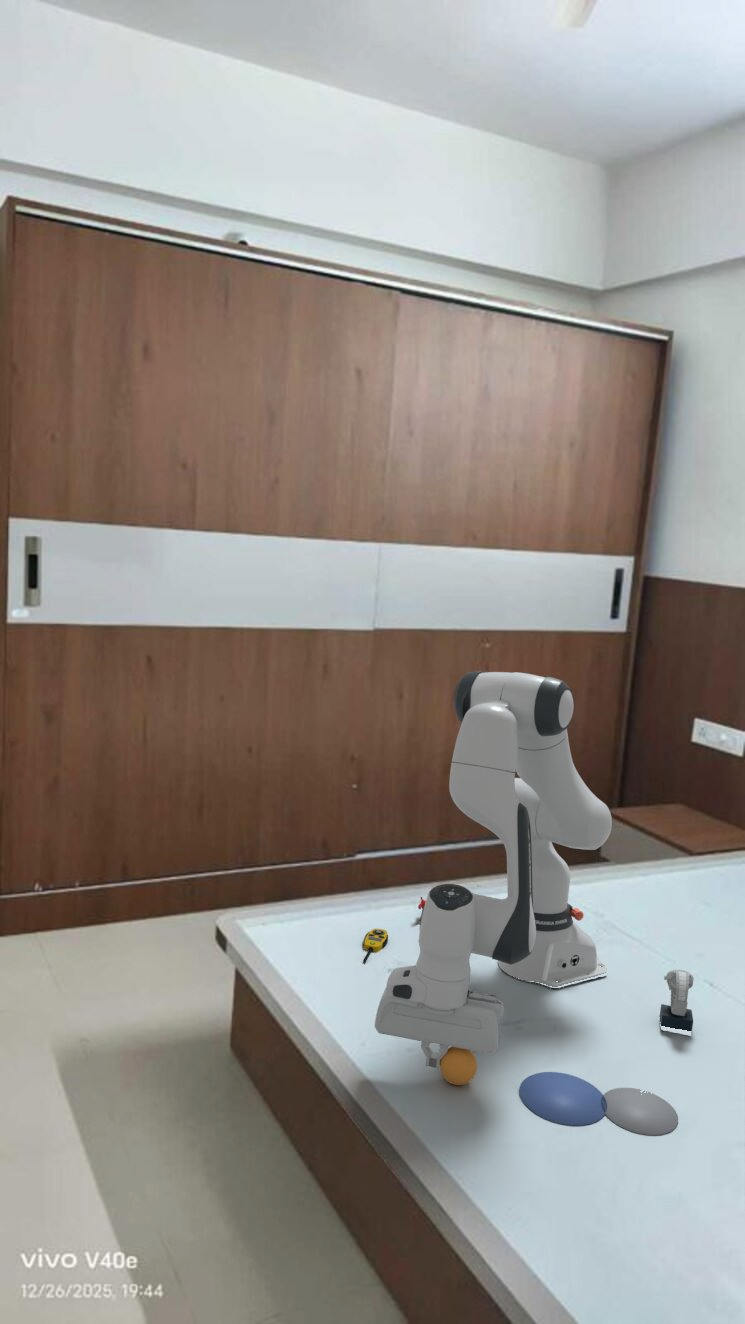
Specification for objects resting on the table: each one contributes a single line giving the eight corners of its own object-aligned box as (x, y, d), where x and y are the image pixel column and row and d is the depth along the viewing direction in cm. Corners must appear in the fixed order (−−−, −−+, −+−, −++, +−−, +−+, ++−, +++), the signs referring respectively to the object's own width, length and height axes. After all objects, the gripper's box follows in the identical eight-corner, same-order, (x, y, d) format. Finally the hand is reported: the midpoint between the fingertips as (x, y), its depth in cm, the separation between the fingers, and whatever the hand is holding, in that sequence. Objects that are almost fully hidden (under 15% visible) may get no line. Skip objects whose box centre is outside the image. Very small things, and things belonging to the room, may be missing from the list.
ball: (451, 1065, 163) (475, 1043, 162) (464, 1096, 158) (489, 1073, 157) (427, 1056, 160) (452, 1033, 158) (440, 1088, 155) (466, 1064, 154)
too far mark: (647, 1084, 162) (647, 1083, 162) (694, 1128, 151) (694, 1127, 151) (586, 1094, 158) (586, 1093, 158) (629, 1140, 147) (629, 1139, 147)
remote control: (391, 929, 211) (375, 958, 196) (391, 937, 211) (375, 967, 197) (370, 925, 212) (352, 954, 197) (369, 933, 212) (352, 963, 198)
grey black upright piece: (688, 1019, 185) (696, 966, 183) (691, 1041, 177) (699, 985, 175) (658, 1014, 186) (665, 960, 184) (660, 1035, 178) (667, 979, 177)
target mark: (576, 1068, 165) (576, 1067, 165) (624, 1118, 153) (624, 1117, 152) (503, 1079, 160) (503, 1078, 160) (547, 1131, 148) (547, 1130, 148)
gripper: (506, 988, 158) (497, 1067, 160) (383, 967, 162) (376, 1044, 164) (504, 1006, 152) (495, 1088, 154) (377, 984, 156) (369, 1064, 158)
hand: (432, 1065), depth 159 cm, fingers closed
